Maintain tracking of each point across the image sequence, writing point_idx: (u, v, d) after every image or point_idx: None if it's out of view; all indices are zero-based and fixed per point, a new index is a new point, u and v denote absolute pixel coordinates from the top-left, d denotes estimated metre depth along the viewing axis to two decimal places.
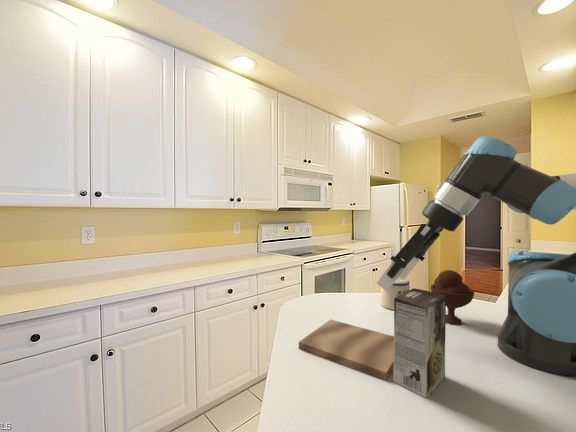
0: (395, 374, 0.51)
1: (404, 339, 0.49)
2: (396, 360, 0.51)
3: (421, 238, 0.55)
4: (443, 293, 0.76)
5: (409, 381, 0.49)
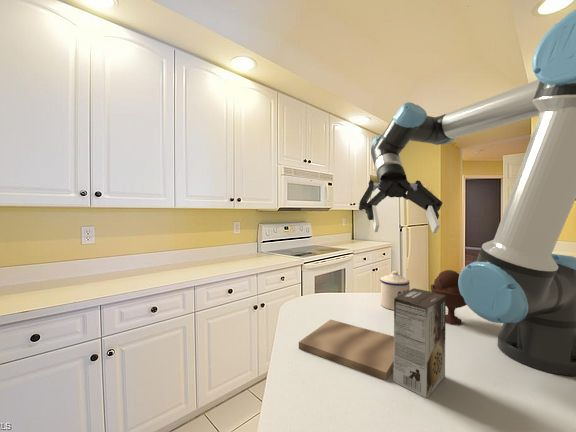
0: (395, 374, 0.51)
1: (404, 339, 0.49)
2: (396, 360, 0.51)
3: None
4: (443, 293, 0.76)
5: (409, 381, 0.49)
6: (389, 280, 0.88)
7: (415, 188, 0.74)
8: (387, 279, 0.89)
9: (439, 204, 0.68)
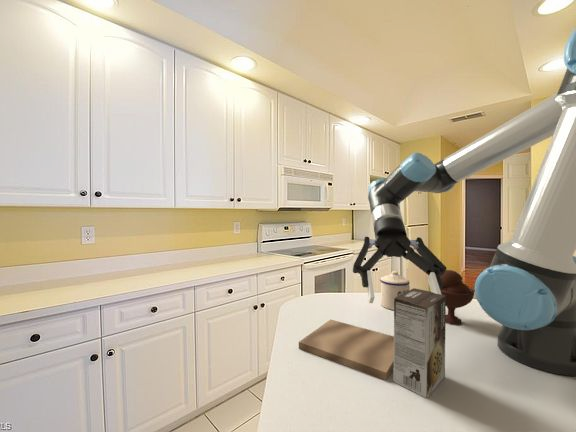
0: (395, 374, 0.51)
1: (404, 339, 0.49)
2: (396, 360, 0.51)
3: (363, 246, 0.67)
4: (443, 293, 0.76)
5: (409, 381, 0.49)
6: (389, 280, 0.88)
7: (416, 246, 0.66)
8: (387, 279, 0.89)
9: (443, 270, 0.61)
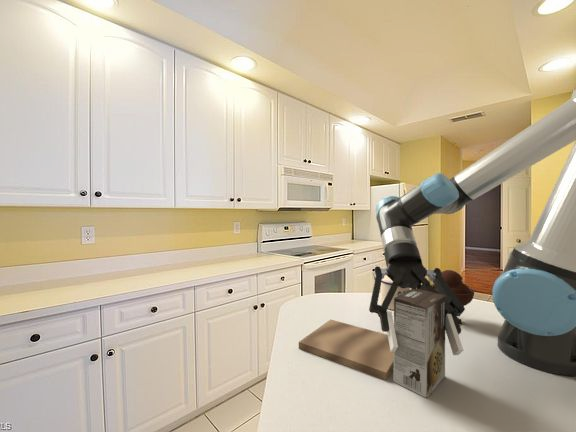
0: (395, 374, 0.51)
1: (404, 339, 0.49)
2: (396, 360, 0.51)
3: (375, 279, 0.59)
4: None
5: (409, 381, 0.49)
6: (389, 280, 0.88)
7: (432, 278, 0.58)
8: (387, 279, 0.89)
9: (460, 310, 0.52)
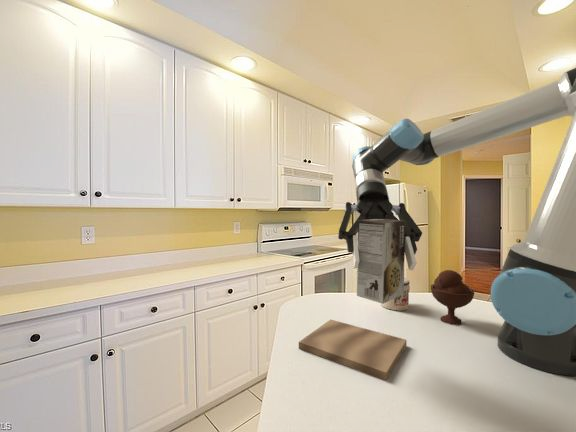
0: (358, 288, 0.57)
1: (365, 255, 0.55)
2: (359, 276, 0.57)
3: None
4: (443, 293, 0.76)
5: (369, 292, 0.55)
6: None
7: (397, 211, 0.64)
8: None
9: (418, 234, 0.58)
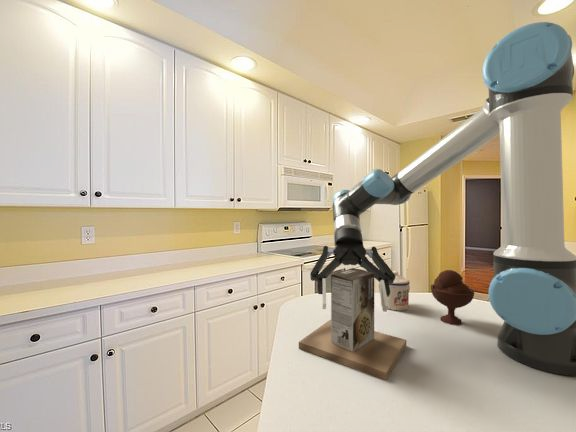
0: (332, 336, 0.63)
1: (337, 306, 0.62)
2: (332, 324, 0.63)
3: None
4: (443, 293, 0.76)
5: (341, 340, 0.61)
6: None
7: (371, 255, 0.71)
8: None
9: (392, 277, 0.65)
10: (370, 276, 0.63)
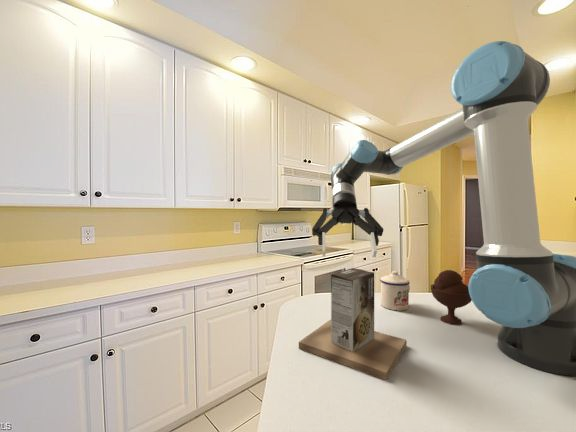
0: (332, 336, 0.63)
1: (337, 306, 0.62)
2: (332, 324, 0.63)
3: None
4: (443, 293, 0.76)
5: (341, 340, 0.61)
6: (389, 280, 0.88)
7: (363, 215, 0.83)
8: (387, 279, 0.89)
9: (380, 231, 0.77)
10: (370, 276, 0.63)
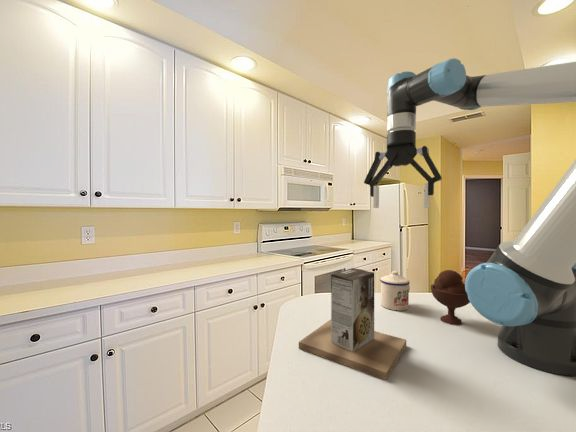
0: (332, 336, 0.63)
1: (337, 306, 0.62)
2: (332, 324, 0.63)
3: None
4: (443, 293, 0.76)
5: (341, 340, 0.61)
6: (389, 280, 0.88)
7: (421, 155, 0.73)
8: (387, 279, 0.89)
9: (437, 179, 0.71)
10: (370, 276, 0.63)
